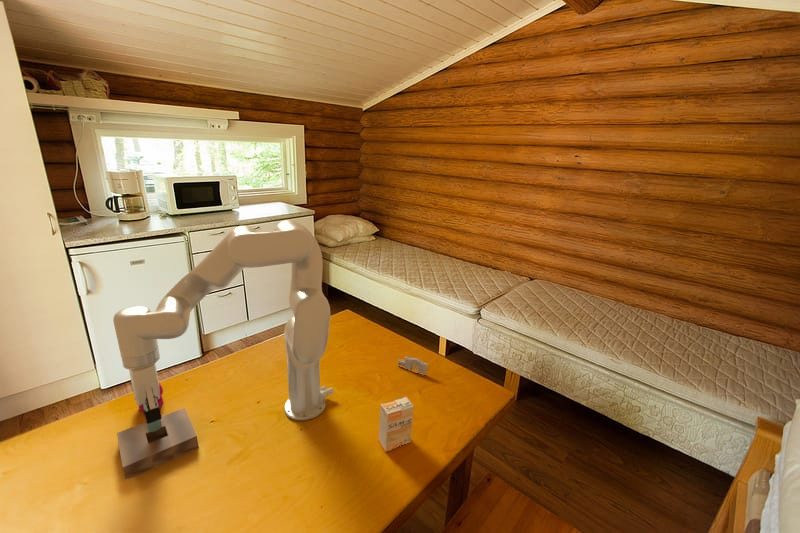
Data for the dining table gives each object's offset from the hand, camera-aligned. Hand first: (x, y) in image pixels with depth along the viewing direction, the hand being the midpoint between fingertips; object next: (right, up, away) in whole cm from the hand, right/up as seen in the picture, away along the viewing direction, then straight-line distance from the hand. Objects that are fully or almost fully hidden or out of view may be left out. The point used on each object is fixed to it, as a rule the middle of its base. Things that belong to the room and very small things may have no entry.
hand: (153, 416), depth 94 cm
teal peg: (0, -4, +1) cm, 4 cm away
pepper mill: (-13, -4, +18) cm, 22 cm away
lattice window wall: (+70, -1, +42) cm, 81 cm away
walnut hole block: (0, -9, +3) cm, 10 cm away
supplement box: (+64, -11, +8) cm, 65 cm away
